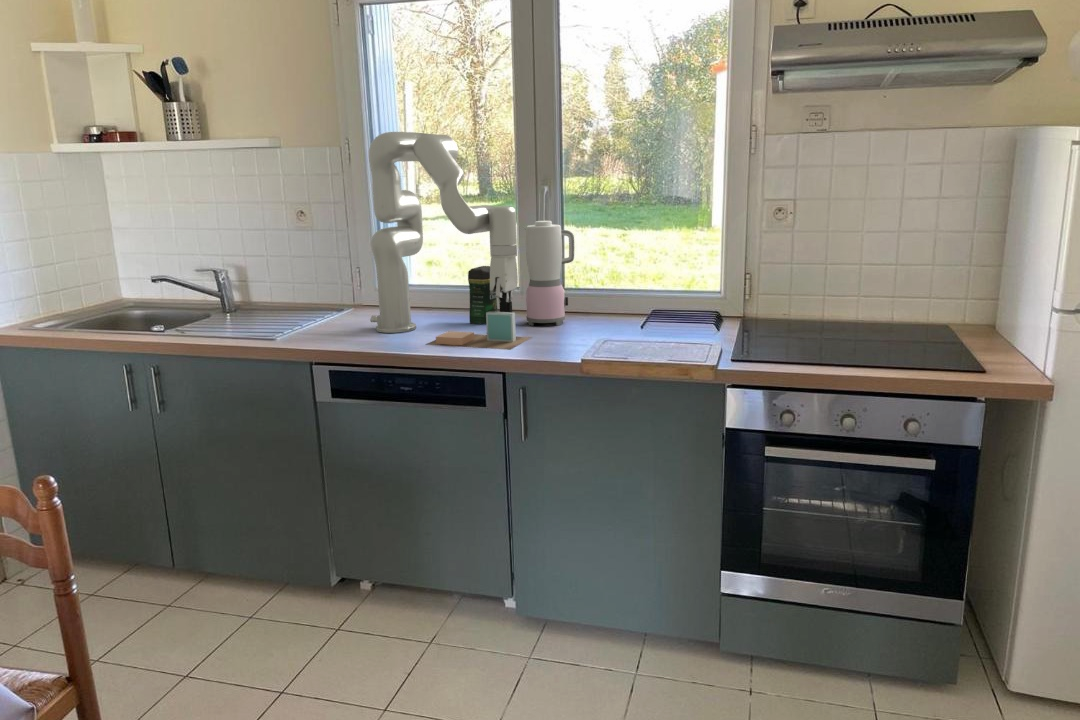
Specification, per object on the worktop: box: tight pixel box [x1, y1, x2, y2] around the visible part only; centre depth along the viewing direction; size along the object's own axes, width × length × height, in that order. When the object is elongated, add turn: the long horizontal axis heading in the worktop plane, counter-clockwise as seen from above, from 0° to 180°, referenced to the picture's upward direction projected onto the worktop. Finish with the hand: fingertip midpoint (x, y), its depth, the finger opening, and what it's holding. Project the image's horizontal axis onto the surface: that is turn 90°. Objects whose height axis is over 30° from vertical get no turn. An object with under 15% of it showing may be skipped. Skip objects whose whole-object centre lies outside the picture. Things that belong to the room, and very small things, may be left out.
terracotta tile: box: [435, 330, 475, 345], centre depth 231 cm, size 8×2×8 cm
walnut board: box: [425, 333, 533, 350], centre depth 232 cm, size 26×16×1 cm, turn 69°
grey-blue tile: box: [486, 311, 517, 342], centre depth 230 cm, size 8×2×8 cm, turn 69°
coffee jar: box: [467, 265, 499, 326], centre depth 258 cm, size 10×8×19 cm
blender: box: [523, 220, 575, 326], centre depth 256 cm, size 16×12×32 cm
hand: (506, 315), depth 233 cm, fingers closed
